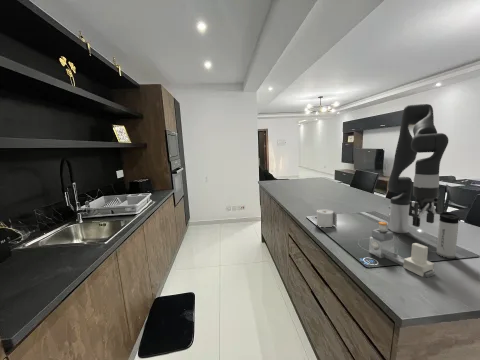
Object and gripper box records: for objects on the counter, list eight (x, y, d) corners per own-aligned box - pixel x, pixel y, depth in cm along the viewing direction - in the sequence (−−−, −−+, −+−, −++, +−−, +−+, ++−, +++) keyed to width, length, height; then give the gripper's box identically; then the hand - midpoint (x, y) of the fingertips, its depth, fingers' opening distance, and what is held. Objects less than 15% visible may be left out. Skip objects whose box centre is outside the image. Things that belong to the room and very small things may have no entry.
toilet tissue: (316, 222, 148) (315, 209, 146) (334, 223, 144) (334, 209, 143) (317, 228, 138) (317, 213, 136) (336, 229, 134) (336, 214, 133)
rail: (384, 257, 98) (384, 254, 98) (390, 255, 100) (390, 252, 99) (427, 277, 82) (427, 274, 82) (434, 275, 83) (434, 271, 83)
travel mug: (449, 252, 99) (453, 212, 96) (458, 259, 93) (462, 216, 90) (433, 250, 101) (436, 211, 98) (441, 257, 95) (444, 216, 92)
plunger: (376, 231, 101) (376, 222, 101) (381, 230, 102) (381, 221, 102) (383, 233, 98) (383, 224, 97) (388, 232, 99) (388, 223, 98)
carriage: (403, 267, 89) (404, 243, 87) (414, 263, 91) (416, 240, 90) (422, 276, 82) (423, 250, 81) (433, 272, 85) (435, 247, 83)
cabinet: (368, 252, 103) (369, 230, 101) (382, 248, 106) (383, 227, 104) (380, 258, 98) (380, 235, 96) (394, 254, 100) (395, 231, 99)
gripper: (426, 182, 87) (423, 219, 89) (403, 185, 83) (401, 224, 85) (449, 184, 80) (445, 224, 82) (425, 188, 76) (422, 230, 78)
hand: (423, 224), depth 84 cm, fingers open, 8 cm apart
